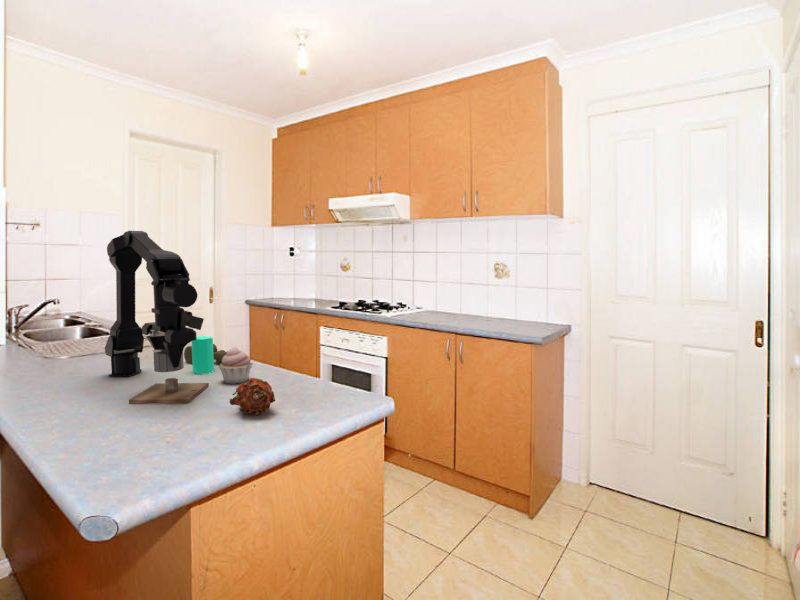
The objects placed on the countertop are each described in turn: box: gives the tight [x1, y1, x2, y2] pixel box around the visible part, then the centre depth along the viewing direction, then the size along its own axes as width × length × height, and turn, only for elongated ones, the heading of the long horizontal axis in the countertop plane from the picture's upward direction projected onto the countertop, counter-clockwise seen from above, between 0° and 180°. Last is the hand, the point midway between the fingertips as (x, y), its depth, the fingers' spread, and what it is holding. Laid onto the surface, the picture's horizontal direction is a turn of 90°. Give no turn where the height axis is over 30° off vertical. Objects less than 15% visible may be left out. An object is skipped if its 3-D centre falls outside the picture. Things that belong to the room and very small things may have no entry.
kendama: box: [183, 343, 229, 365], centre depth 153 cm, size 6×10×20 cm
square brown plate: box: [128, 377, 210, 405], centre depth 118 cm, size 14×14×4 cm
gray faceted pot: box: [152, 349, 184, 373], centre depth 117 cm, size 6×7×5 cm
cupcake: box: [218, 346, 254, 385], centre depth 130 cm, size 9×9×10 cm
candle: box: [191, 335, 215, 375], centre depth 140 cm, size 6×6×12 cm
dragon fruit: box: [229, 377, 276, 416], centre depth 106 cm, size 8×8×12 cm
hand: (169, 365), depth 117 cm, fingers closed on gray faceted pot, 7 cm apart
